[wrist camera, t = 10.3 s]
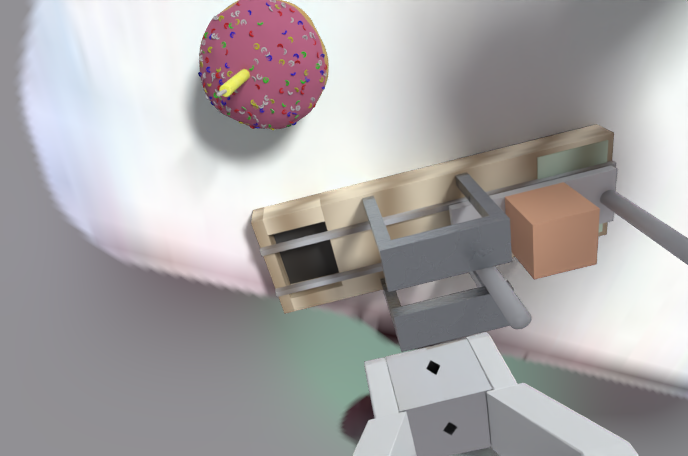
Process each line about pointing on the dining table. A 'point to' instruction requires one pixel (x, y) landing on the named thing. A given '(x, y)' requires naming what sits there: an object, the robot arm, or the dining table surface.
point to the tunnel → (444, 270)
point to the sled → (562, 229)
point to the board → (400, 213)
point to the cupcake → (263, 63)
